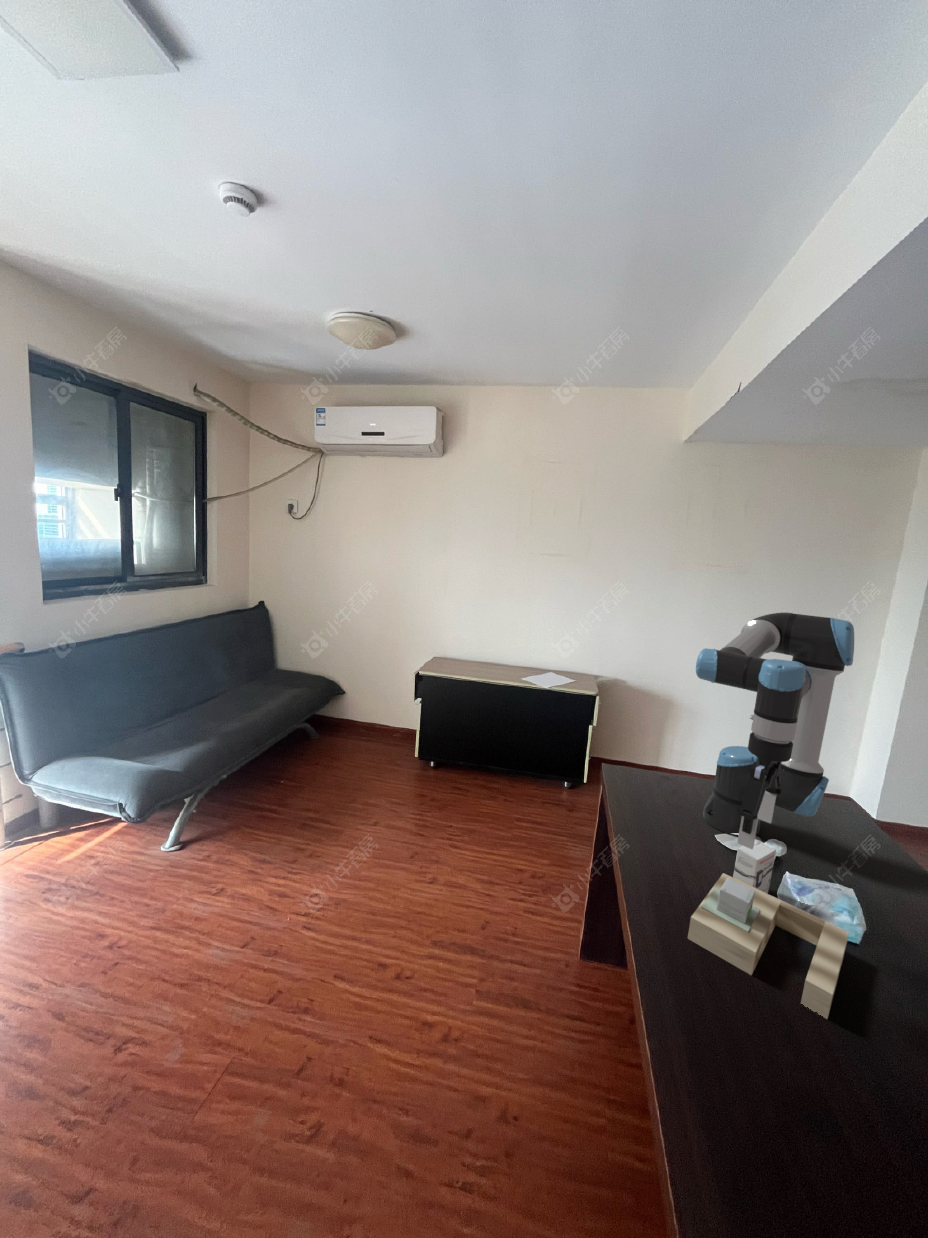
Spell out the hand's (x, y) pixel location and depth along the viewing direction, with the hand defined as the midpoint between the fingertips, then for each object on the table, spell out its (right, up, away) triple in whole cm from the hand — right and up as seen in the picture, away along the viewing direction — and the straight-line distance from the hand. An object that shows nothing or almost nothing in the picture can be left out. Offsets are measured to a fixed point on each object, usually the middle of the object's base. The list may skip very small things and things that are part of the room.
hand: (755, 832), depth 104 cm
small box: (-4, -17, +1) cm, 18 cm away
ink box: (+7, -21, +15) cm, 27 cm away
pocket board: (+1, -23, -1) cm, 23 cm away
